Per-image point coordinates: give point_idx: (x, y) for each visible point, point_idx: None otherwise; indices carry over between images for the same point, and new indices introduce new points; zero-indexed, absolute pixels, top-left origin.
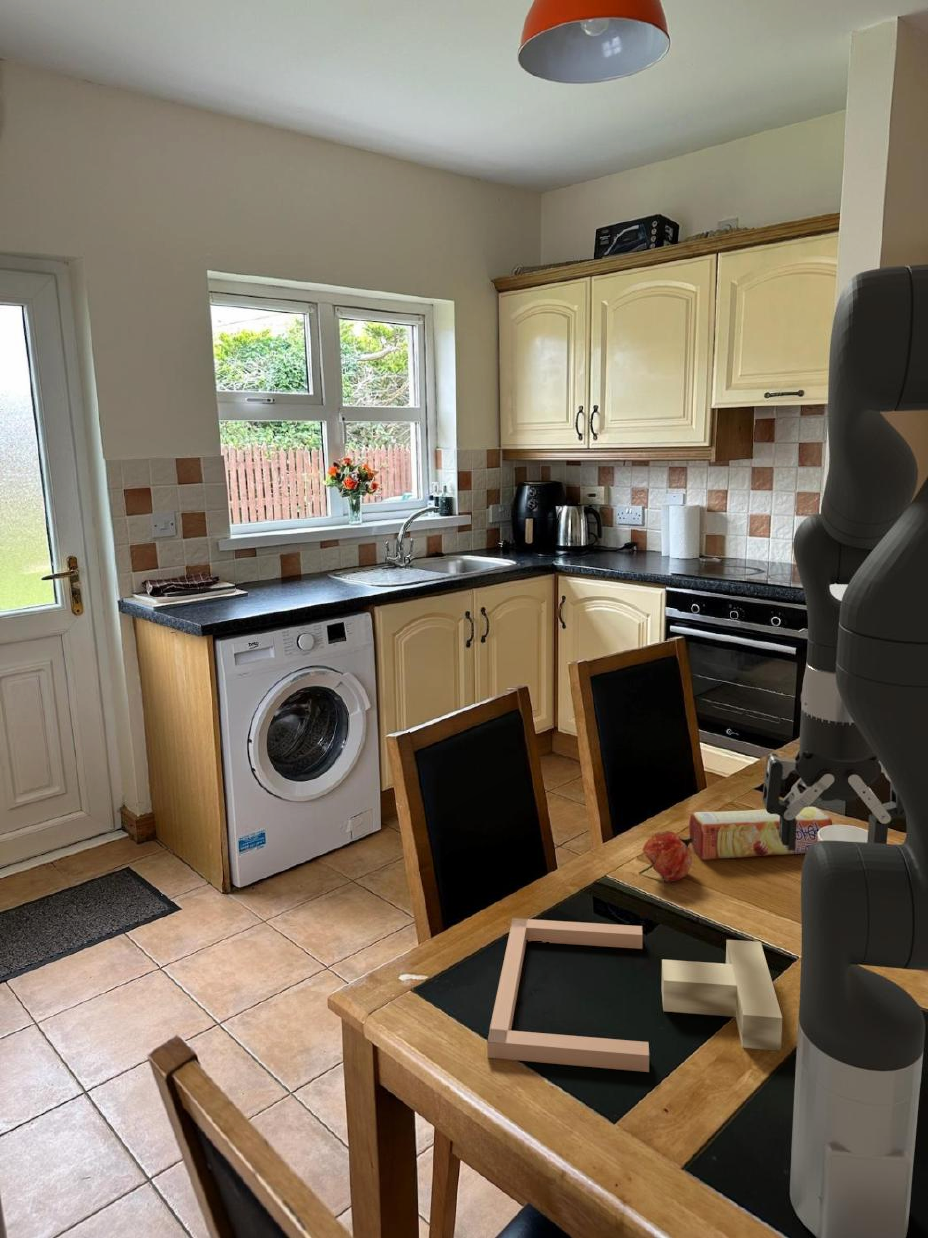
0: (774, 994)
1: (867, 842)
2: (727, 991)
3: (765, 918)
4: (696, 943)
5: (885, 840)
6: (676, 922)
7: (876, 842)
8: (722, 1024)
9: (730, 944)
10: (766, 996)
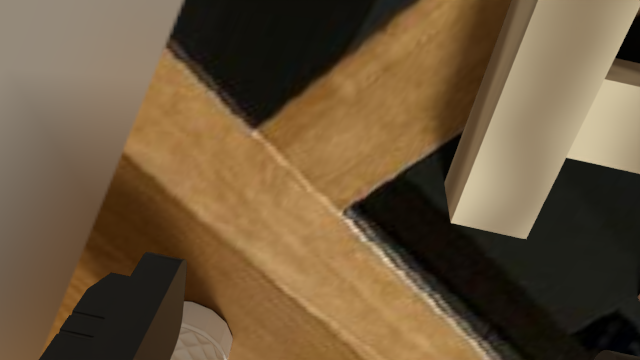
0: (527, 35)
1: (174, 347)
2: (619, 77)
3: (353, 318)
4: (529, 273)
5: (80, 314)
6: (534, 332)
7: (143, 306)
8: None
9: (526, 223)
10: (553, 29)
